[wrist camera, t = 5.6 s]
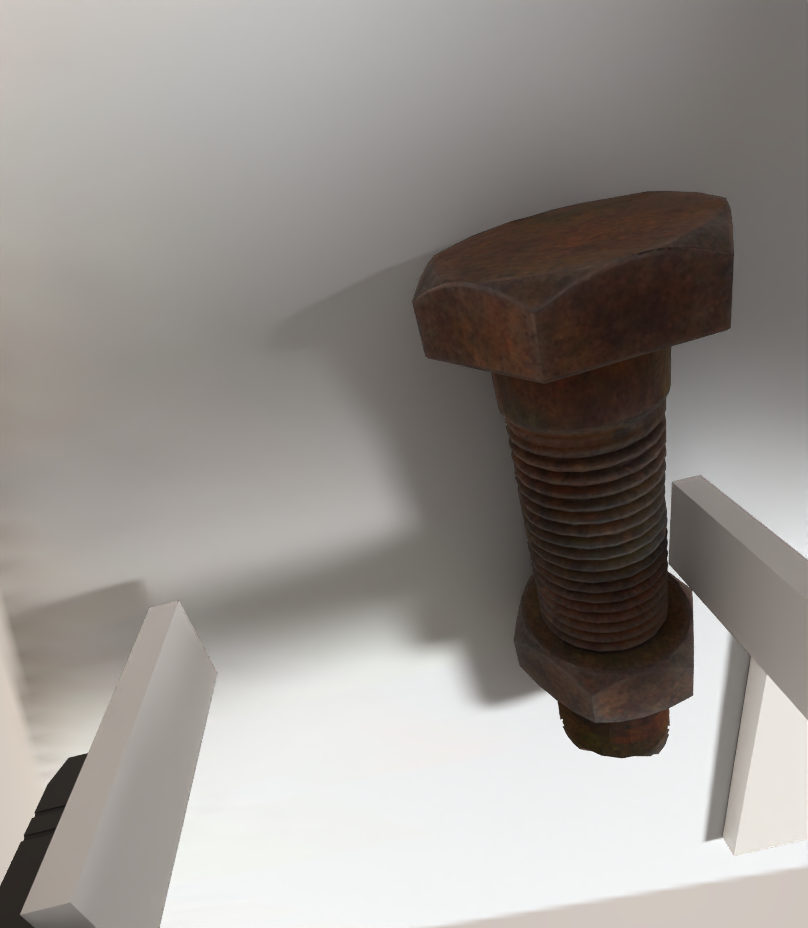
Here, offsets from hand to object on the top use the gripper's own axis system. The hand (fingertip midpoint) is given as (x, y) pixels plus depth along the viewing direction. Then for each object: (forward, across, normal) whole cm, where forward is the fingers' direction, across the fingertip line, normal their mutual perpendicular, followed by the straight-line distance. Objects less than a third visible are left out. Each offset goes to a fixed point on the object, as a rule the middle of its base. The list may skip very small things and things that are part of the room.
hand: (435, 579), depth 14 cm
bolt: (+2, +4, +1) cm, 4 cm away
